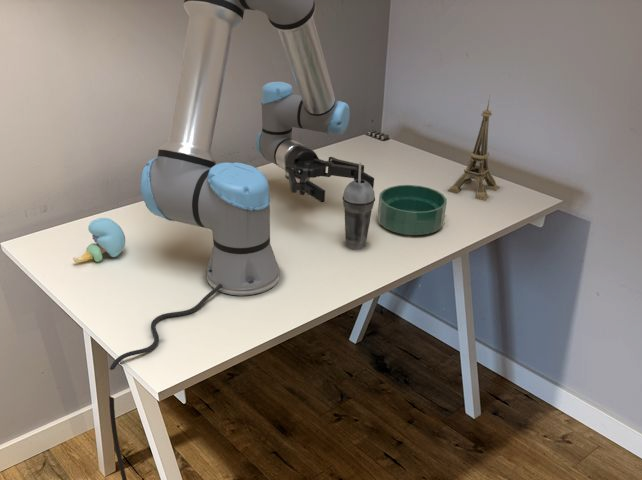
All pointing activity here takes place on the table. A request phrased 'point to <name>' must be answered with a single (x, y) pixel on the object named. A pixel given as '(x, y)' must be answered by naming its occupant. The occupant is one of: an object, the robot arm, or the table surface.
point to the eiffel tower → (482, 170)
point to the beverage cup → (357, 211)
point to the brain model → (103, 240)
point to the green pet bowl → (411, 209)
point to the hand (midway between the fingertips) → (348, 190)
